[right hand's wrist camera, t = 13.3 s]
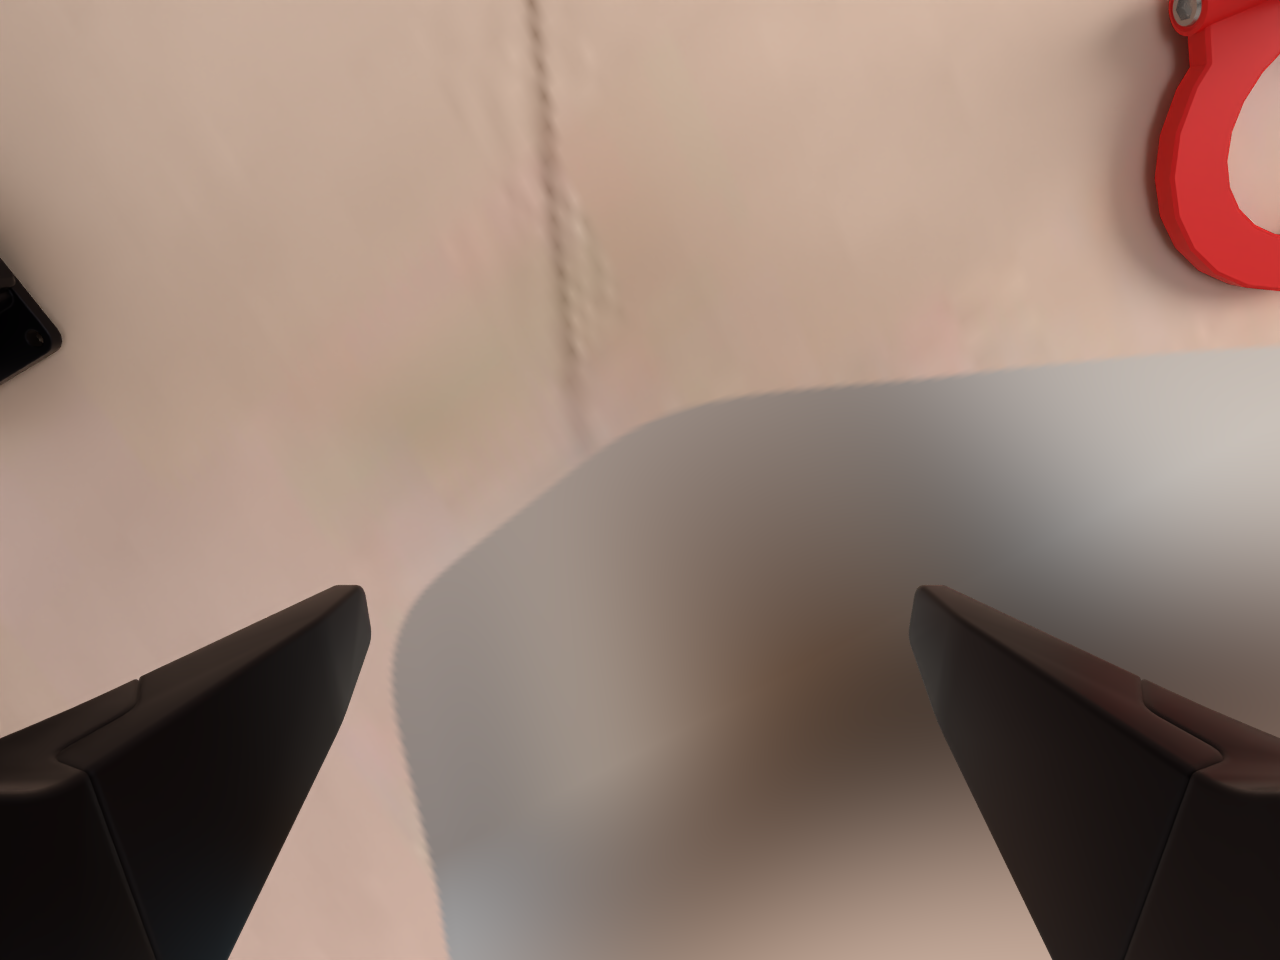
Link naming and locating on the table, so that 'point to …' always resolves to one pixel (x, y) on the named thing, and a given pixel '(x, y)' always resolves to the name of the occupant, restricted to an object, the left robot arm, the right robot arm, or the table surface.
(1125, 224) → the table surface
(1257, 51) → the tow hook
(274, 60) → the table surface
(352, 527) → the table surface
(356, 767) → the table surface
